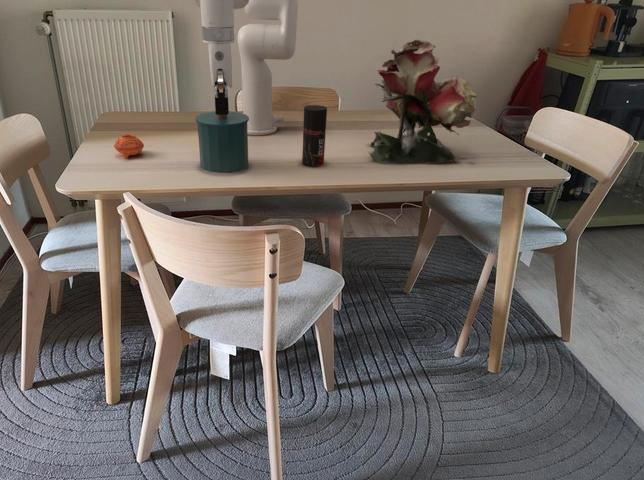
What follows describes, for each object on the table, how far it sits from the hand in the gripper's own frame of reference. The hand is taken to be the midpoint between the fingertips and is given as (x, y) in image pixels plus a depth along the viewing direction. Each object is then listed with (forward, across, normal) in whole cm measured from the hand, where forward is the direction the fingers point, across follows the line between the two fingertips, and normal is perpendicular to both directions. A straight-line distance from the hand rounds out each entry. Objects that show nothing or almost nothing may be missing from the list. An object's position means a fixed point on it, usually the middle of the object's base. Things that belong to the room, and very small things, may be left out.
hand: (222, 109), depth 126 cm
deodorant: (+15, +1, -24) cm, 28 cm away
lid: (+2, 0, 0) cm, 3 cm away
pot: (+15, +10, +26) cm, 32 cm away
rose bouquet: (+15, +10, -56) cm, 59 cm away
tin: (+15, 0, 0) cm, 15 cm away
